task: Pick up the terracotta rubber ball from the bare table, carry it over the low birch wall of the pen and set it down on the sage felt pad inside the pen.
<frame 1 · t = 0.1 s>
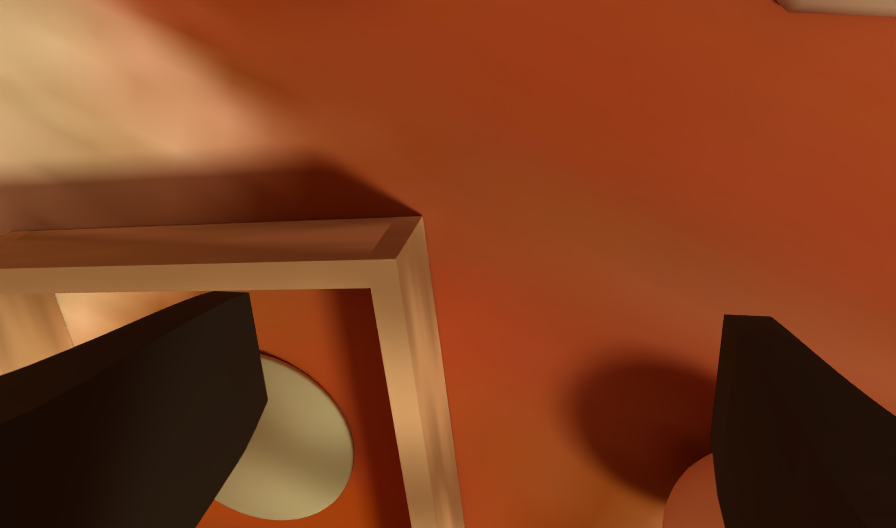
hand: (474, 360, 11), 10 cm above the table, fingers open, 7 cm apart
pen: (258, 436, 26), on the table
ball: (741, 478, 23), on the table
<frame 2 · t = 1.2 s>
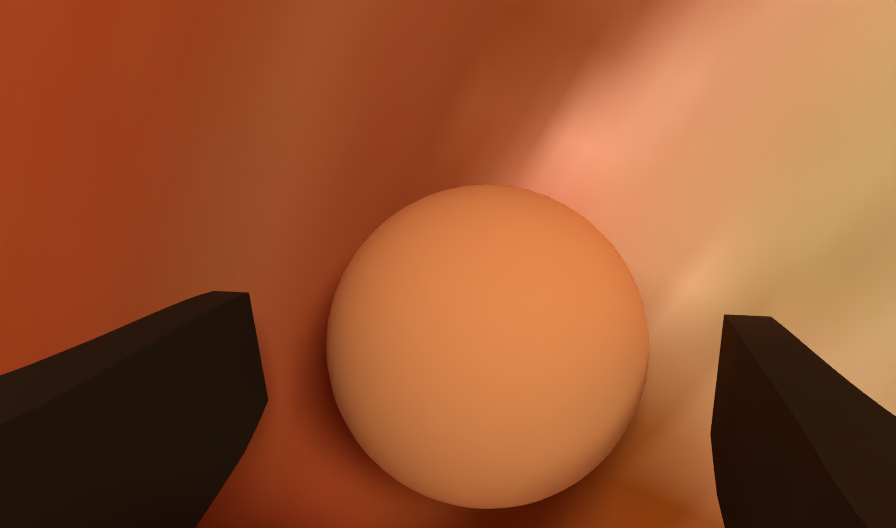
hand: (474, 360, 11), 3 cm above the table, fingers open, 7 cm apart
ball: (506, 275, 14), on the table
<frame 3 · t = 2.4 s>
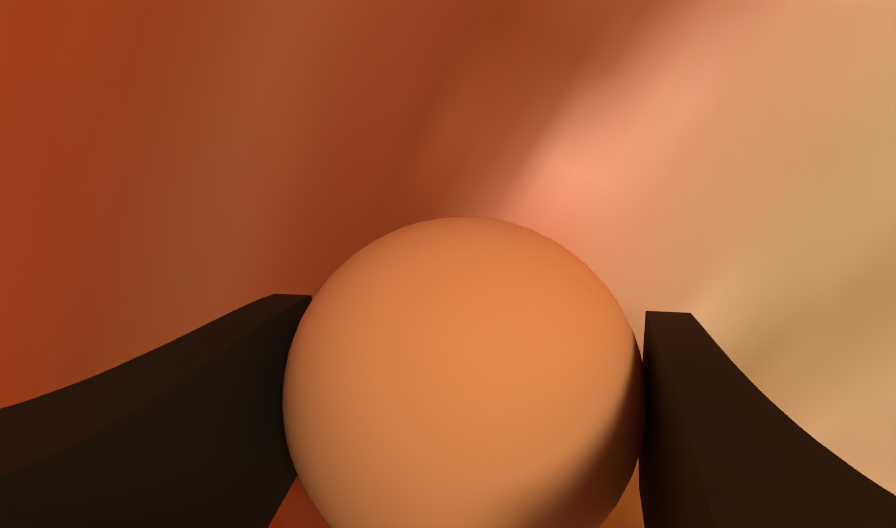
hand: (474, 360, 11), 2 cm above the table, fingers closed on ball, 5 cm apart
ball: (489, 310, 13), on the table, touching gripper
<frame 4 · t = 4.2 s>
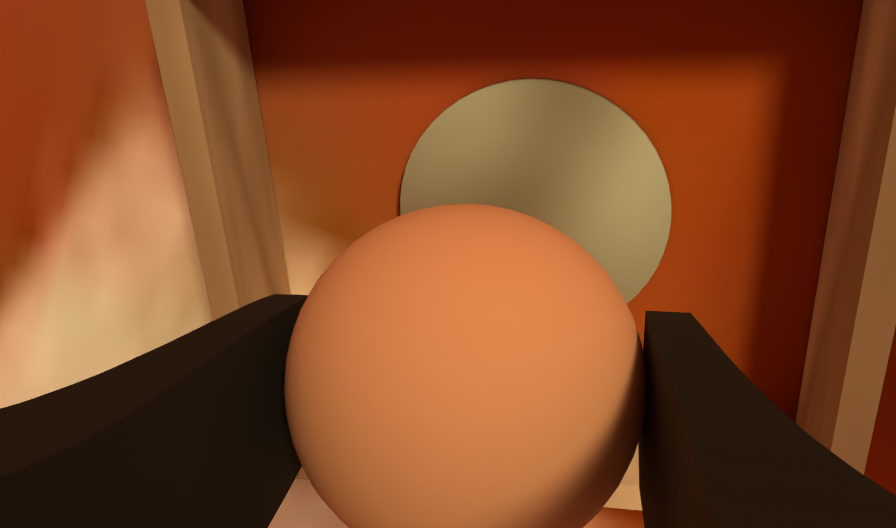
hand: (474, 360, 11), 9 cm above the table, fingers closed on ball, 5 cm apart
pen: (532, 212, 20), on the table
ball: (484, 299, 13), point 7 cm above the table, touching gripper
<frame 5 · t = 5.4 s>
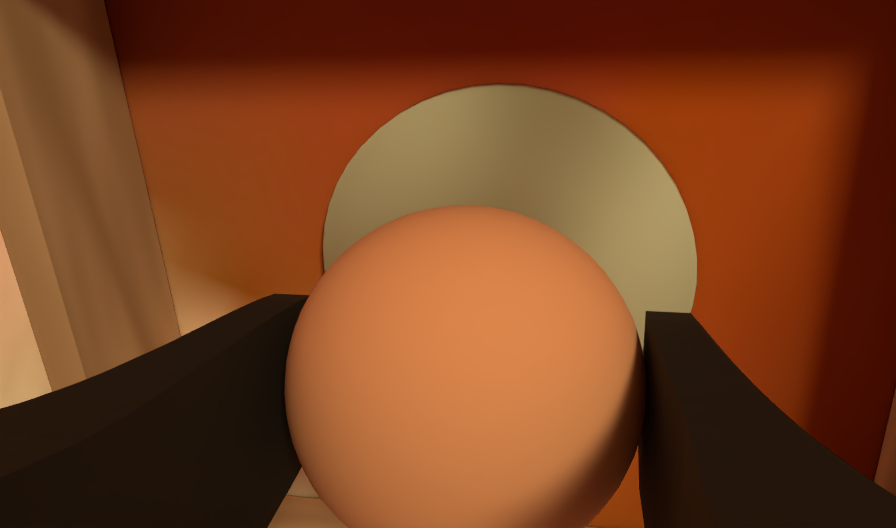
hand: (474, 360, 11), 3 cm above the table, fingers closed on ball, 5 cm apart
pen: (503, 268, 14), on the table
ball: (484, 300, 13), point 2 cm above the table, touching gripper
when the fingers open (3 cm above the table, at t = 6.3 s): ball drops 1 cm, resting on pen.
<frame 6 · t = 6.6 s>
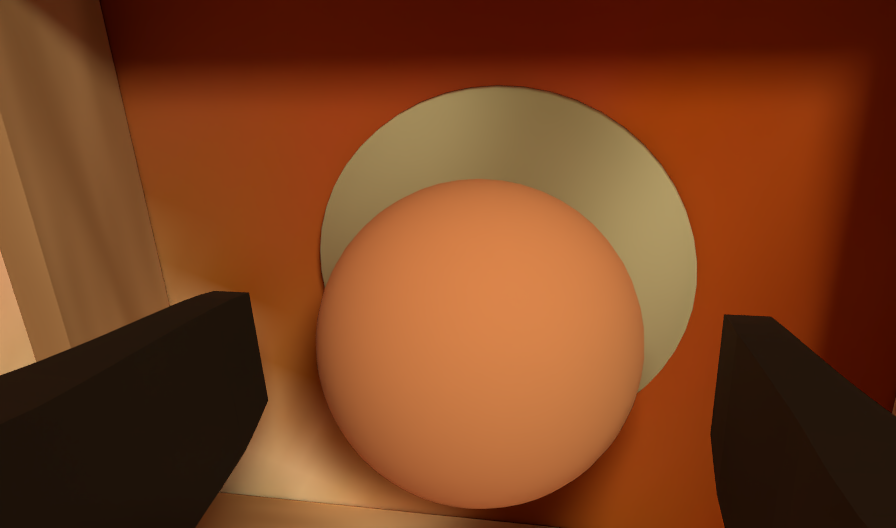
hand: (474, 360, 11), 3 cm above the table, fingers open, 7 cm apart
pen: (501, 271, 14), on the table
ball: (494, 271, 14), resting on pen
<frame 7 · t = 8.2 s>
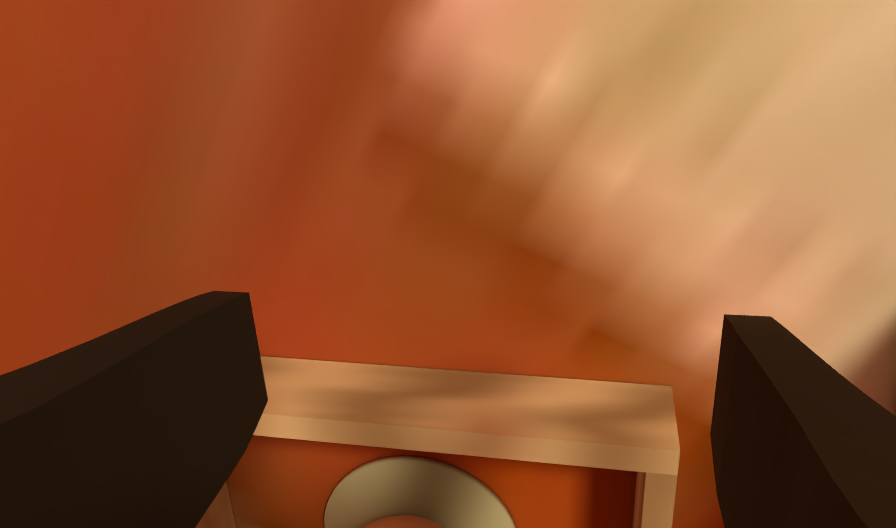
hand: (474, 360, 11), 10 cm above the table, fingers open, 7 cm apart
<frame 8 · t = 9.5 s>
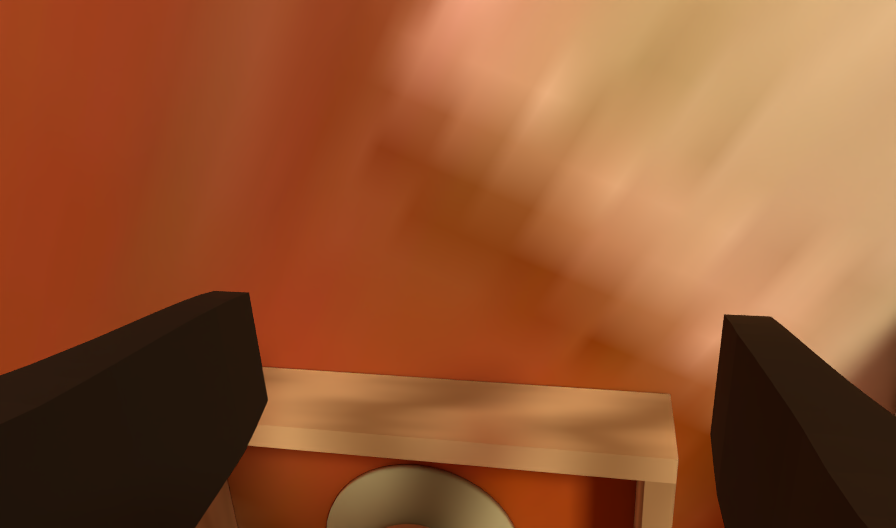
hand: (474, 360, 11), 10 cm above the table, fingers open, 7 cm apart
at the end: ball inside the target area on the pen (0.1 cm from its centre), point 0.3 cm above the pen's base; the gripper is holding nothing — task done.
